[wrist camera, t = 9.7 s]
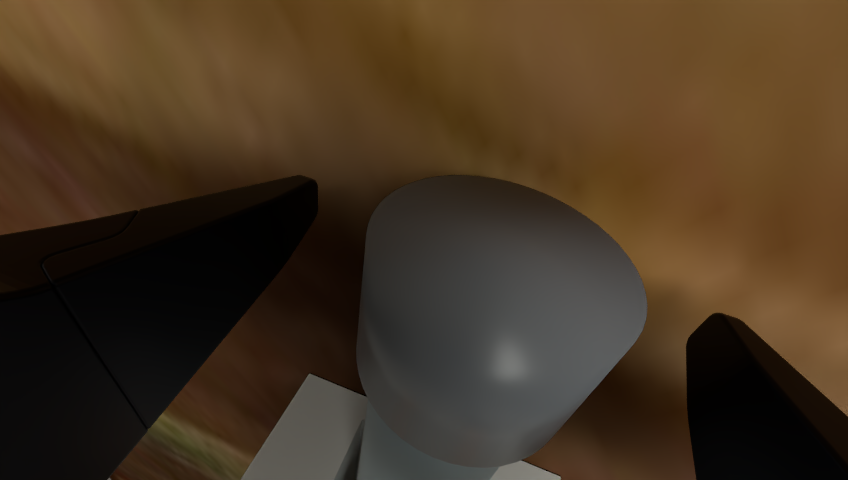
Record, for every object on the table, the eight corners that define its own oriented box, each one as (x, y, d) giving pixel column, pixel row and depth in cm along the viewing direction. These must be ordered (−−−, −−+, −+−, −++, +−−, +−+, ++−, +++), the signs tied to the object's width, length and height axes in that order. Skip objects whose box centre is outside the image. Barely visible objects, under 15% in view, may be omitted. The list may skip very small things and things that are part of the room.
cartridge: (458, 487, 18) (429, 618, 14) (368, 448, 18) (319, 564, 15) (629, 218, 8) (676, 432, 4) (419, 154, 8) (306, 292, 5)
